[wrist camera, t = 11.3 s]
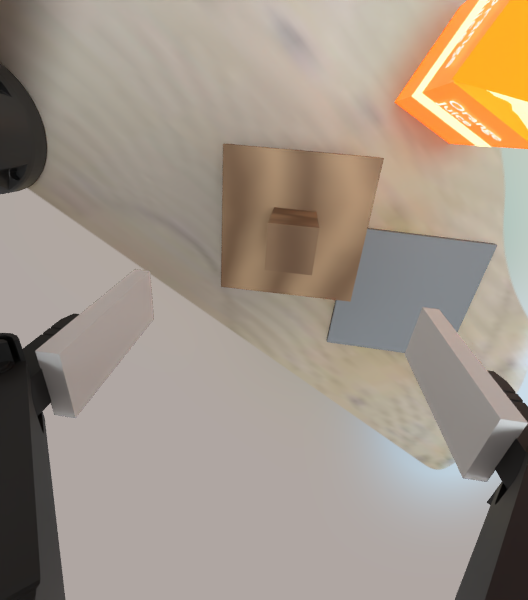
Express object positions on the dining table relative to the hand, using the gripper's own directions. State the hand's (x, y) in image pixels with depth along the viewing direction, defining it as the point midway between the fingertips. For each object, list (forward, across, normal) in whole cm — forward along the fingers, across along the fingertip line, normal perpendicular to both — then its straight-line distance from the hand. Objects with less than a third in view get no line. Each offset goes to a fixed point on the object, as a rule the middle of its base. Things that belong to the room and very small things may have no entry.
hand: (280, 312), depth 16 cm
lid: (+18, 0, 0) cm, 18 cm away
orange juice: (+26, +14, +14) cm, 33 cm away
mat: (+26, +16, -10) cm, 32 cm away
